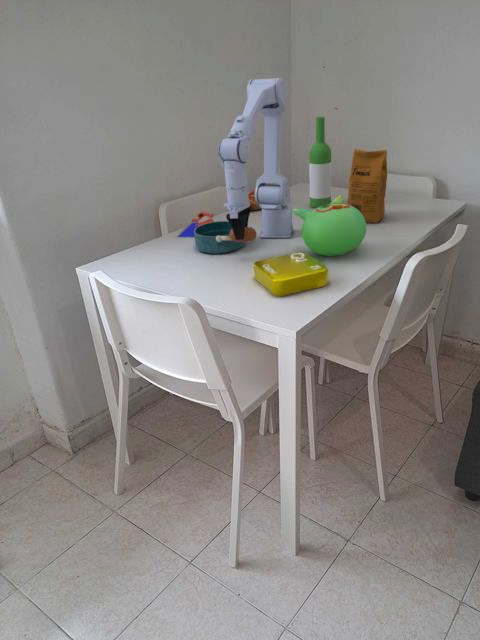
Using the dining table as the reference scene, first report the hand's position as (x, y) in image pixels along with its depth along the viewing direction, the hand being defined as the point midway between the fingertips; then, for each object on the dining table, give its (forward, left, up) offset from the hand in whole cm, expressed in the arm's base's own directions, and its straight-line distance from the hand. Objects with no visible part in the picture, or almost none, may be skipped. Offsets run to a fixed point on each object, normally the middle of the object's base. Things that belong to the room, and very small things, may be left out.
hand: (241, 236), depth 138 cm
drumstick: (+2, 0, -1) cm, 2 cm away
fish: (+19, -28, -7) cm, 34 cm away
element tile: (-15, +15, -7) cm, 23 cm away
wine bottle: (-19, -54, -7) cm, 57 cm away
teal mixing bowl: (+9, -11, -7) cm, 16 cm away
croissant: (+3, -55, -7) cm, 56 cm away
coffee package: (-35, -37, -7) cm, 51 cm away
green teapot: (-25, -5, -7) cm, 26 cm away
